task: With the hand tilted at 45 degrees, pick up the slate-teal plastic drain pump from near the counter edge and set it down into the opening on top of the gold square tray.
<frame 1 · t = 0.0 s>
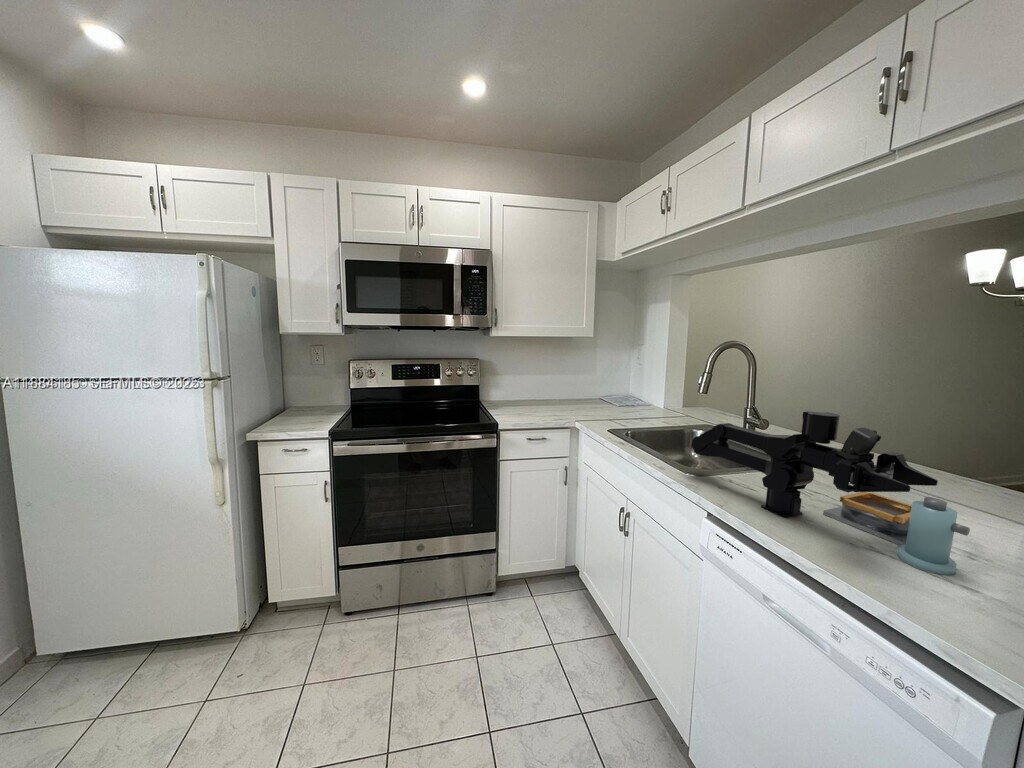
hand: (923, 486, 74), 16 cm above the countertop, tool horizontal, fingers open, 9 cm apart
pump: (924, 562, 78), on the countertop
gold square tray: (879, 524, 93), on the countertop
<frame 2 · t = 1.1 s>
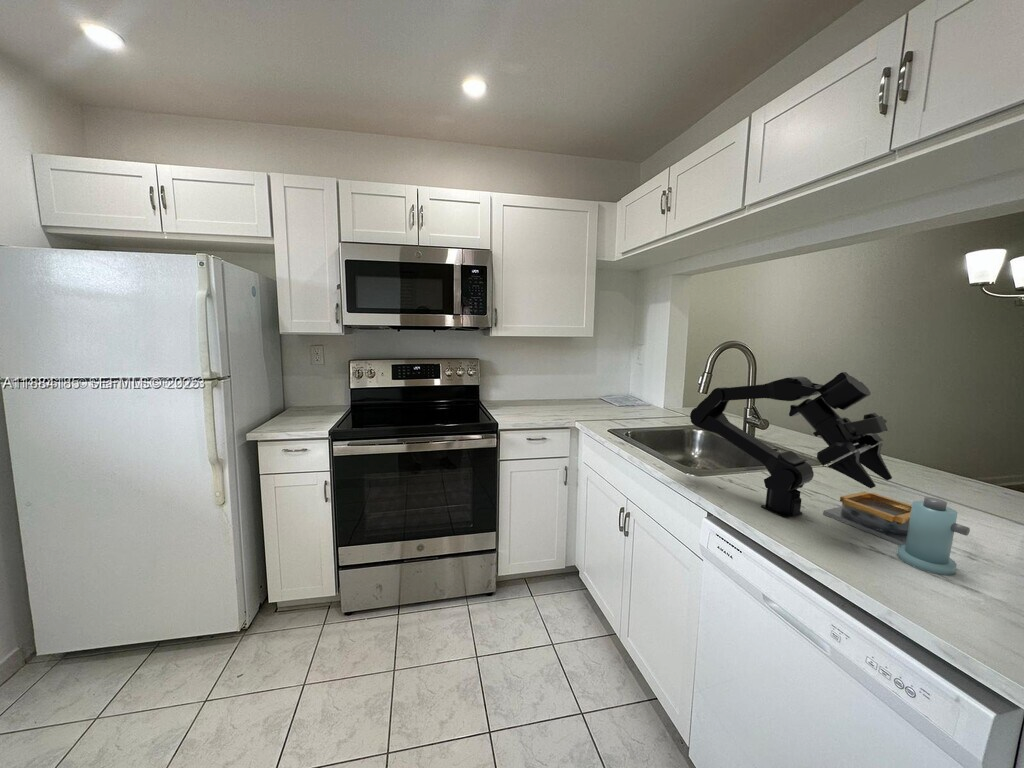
hand: (881, 483, 83), 14 cm above the countertop, tool tilted 45°, fingers open, 9 cm apart
nothing on the countertop moved.
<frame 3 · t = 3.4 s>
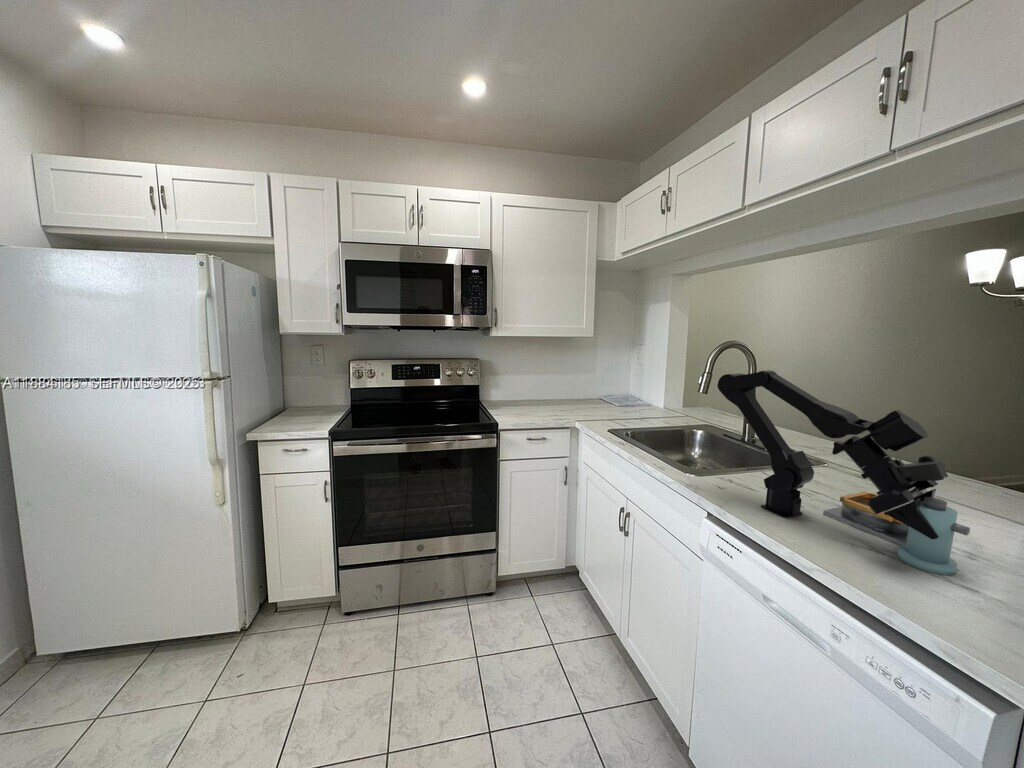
hand: (940, 534, 76), 7 cm above the countertop, tool tilted 45°, fingers closed on pump, 6 cm apart
pump: (925, 562, 78), on the countertop, touching gripper
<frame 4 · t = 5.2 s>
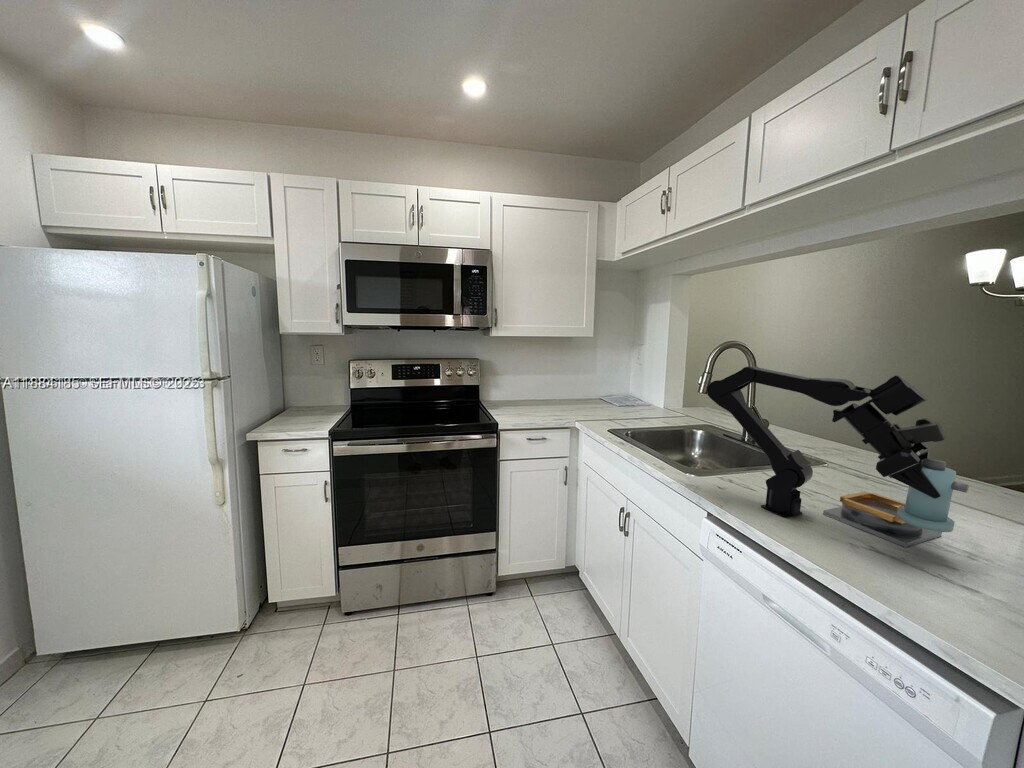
hand: (939, 493, 78), 13 cm above the countertop, tool tilted 45°, fingers closed on pump, 6 cm apart
pump: (923, 522, 80), point 7 cm above the countertop, touching gripper
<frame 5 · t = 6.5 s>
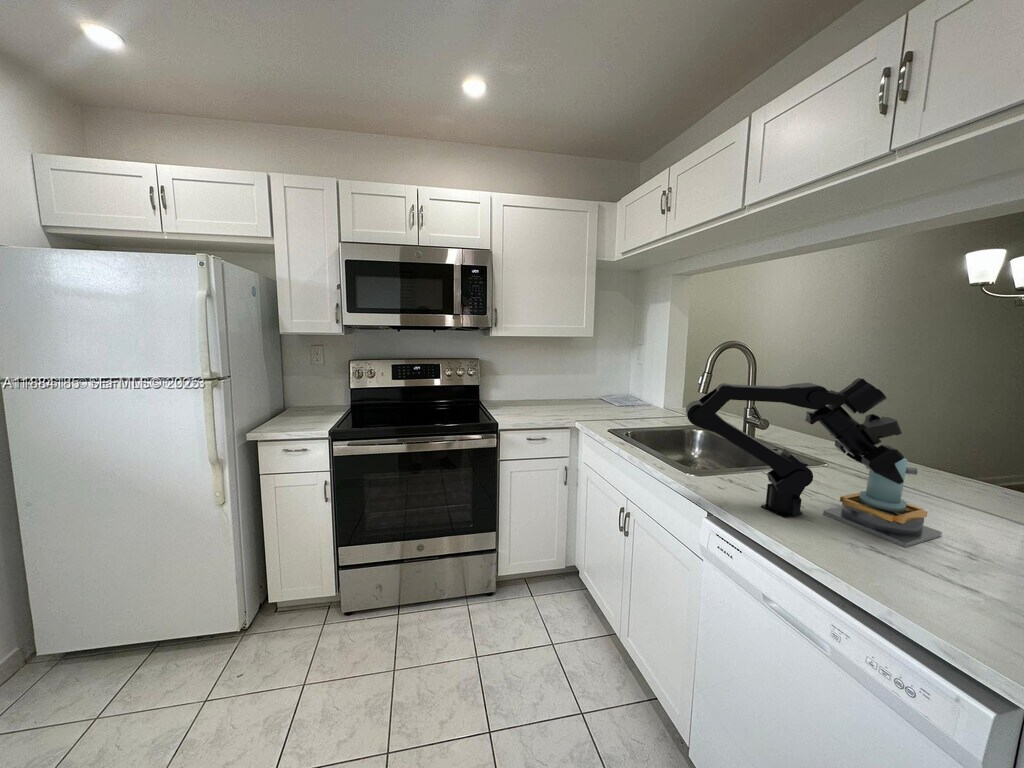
hand: (893, 478, 91), 12 cm above the countertop, tool tilted 45°, fingers closed on pump, 6 cm apart
pump: (881, 503, 92), point 5 cm above the countertop, touching gripper
when the fingers open (11 cm above the countertop, at t = 7.4 s): pump stays where it is, resting on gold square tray.
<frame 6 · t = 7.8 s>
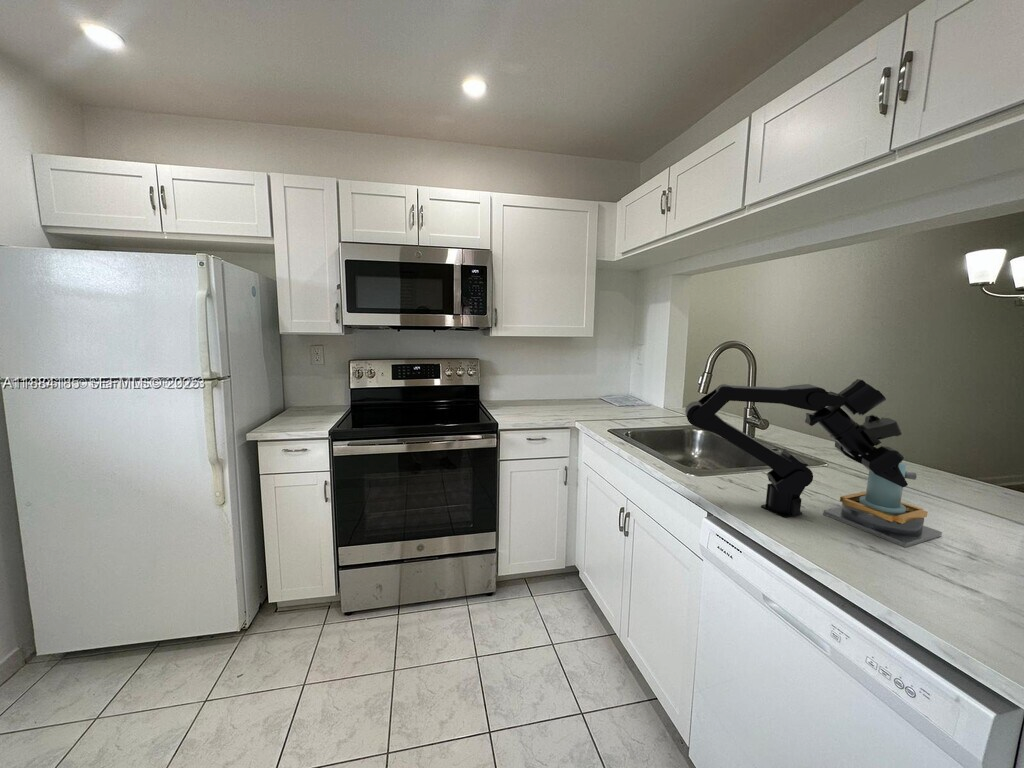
hand: (893, 478, 91), 12 cm above the countertop, tool tilted 45°, fingers open, 9 cm apart
pump: (881, 508, 93), point 4 cm above the countertop, touching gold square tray
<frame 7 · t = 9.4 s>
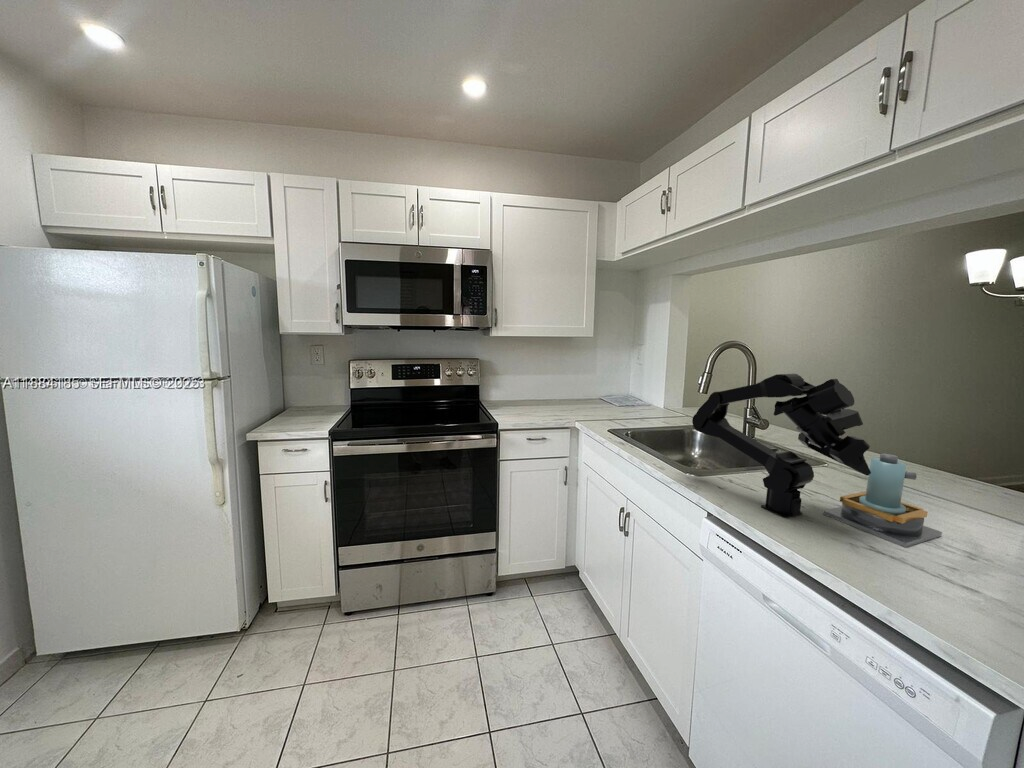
hand: (855, 468, 94), 13 cm above the countertop, tool tilted 45°, fingers open, 9 cm apart
nothing on the countertop moved.
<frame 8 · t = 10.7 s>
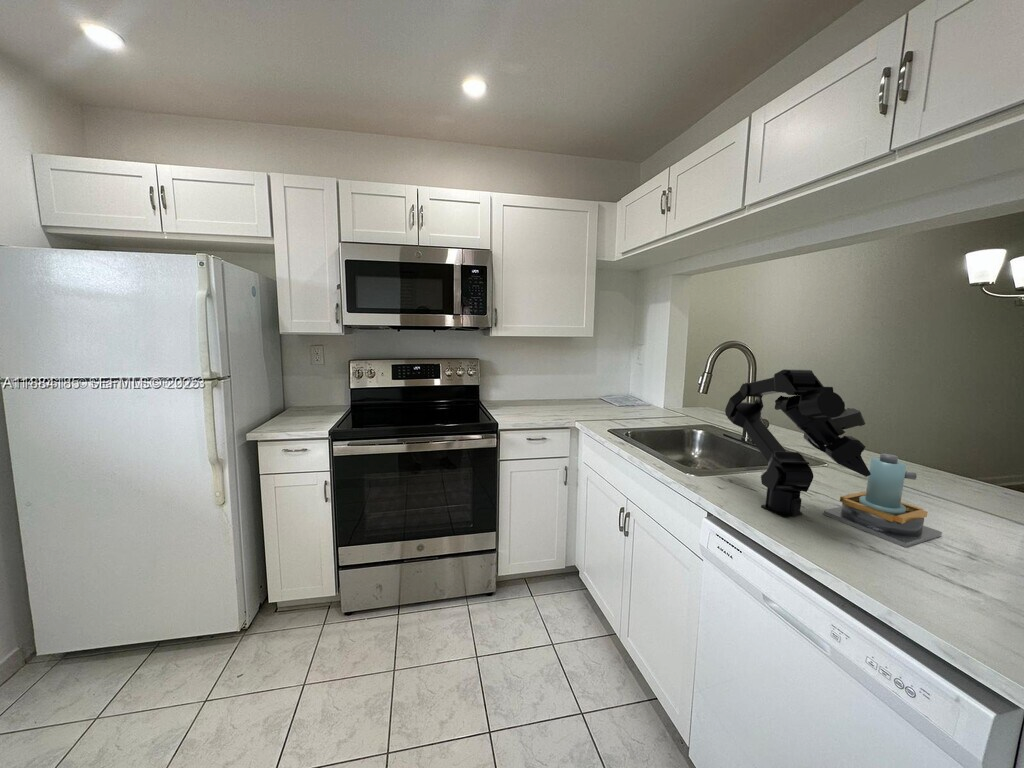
hand: (858, 468, 92), 14 cm above the countertop, tool tilted 45°, fingers open, 9 cm apart
nothing on the countertop moved.
at the end: pump 0.0 cm off-centre on the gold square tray, point 4.0 cm above the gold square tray's base; pump tilted 0°; the gripper is holding nothing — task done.
